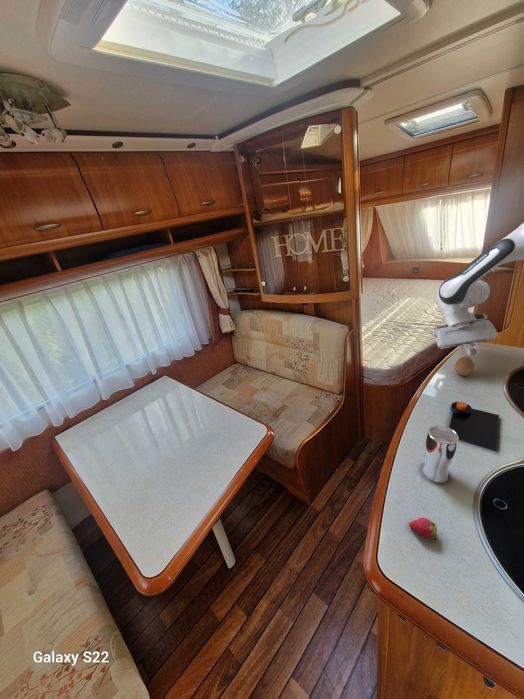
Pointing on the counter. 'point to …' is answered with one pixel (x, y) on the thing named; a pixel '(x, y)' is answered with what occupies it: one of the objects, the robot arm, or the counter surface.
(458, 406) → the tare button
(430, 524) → the fruit
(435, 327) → the robot arm
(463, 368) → the egg
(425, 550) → the counter surface
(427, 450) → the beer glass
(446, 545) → the counter surface
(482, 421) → the scale
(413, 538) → the counter surface
